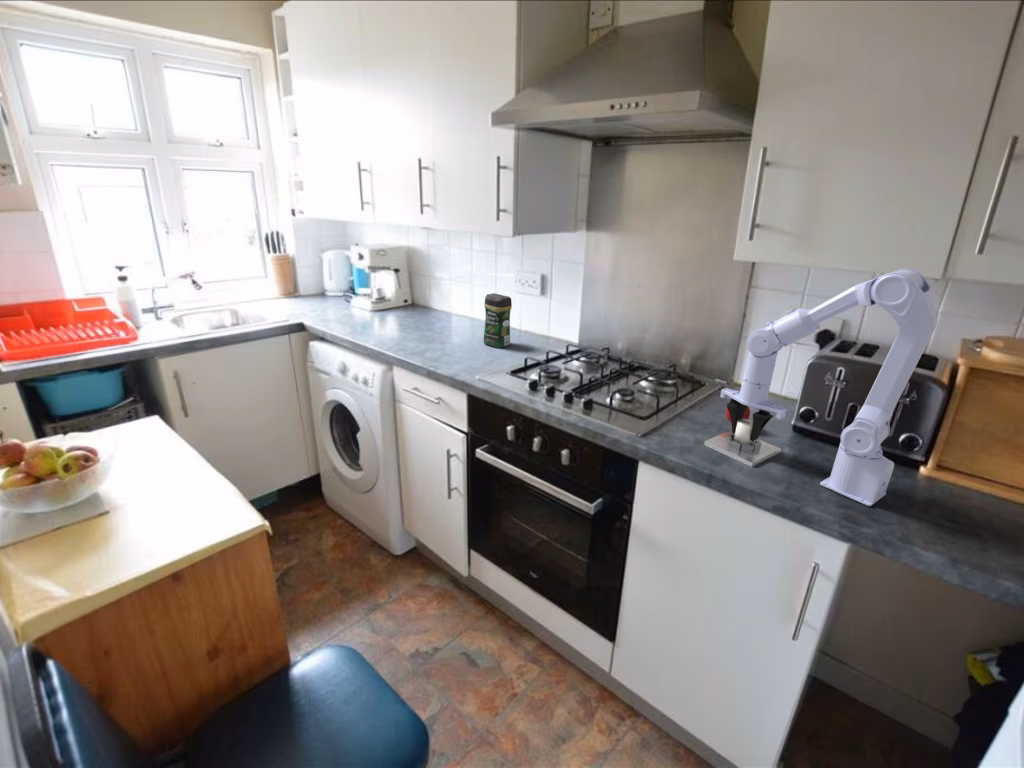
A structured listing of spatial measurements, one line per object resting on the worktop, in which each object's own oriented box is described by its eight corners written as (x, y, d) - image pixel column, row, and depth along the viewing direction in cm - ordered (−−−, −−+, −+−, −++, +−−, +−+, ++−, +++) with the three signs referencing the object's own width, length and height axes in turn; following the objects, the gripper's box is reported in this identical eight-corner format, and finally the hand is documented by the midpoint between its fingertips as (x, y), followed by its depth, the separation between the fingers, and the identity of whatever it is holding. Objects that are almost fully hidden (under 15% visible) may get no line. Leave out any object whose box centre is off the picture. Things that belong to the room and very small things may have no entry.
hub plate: (779, 452, 121) (782, 442, 120) (751, 466, 114) (753, 456, 113) (732, 432, 130) (734, 423, 129) (704, 444, 123) (705, 435, 122)
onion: (727, 419, 137) (732, 390, 134) (749, 425, 134) (756, 397, 131) (719, 426, 133) (725, 397, 130) (742, 433, 129) (749, 403, 127)
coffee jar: (479, 343, 191) (480, 293, 185) (494, 339, 197) (496, 290, 190) (498, 349, 186) (500, 298, 179) (513, 345, 191) (515, 295, 184)
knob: (755, 443, 121) (759, 422, 119) (746, 447, 118) (751, 427, 116) (739, 436, 124) (743, 416, 122) (730, 441, 121) (734, 420, 119)
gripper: (798, 387, 112) (784, 443, 117) (737, 368, 123) (726, 420, 128) (781, 394, 108) (767, 451, 113) (719, 373, 119) (709, 426, 124)
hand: (744, 435), depth 120 cm, fingers closed on knob, 4 cm apart
